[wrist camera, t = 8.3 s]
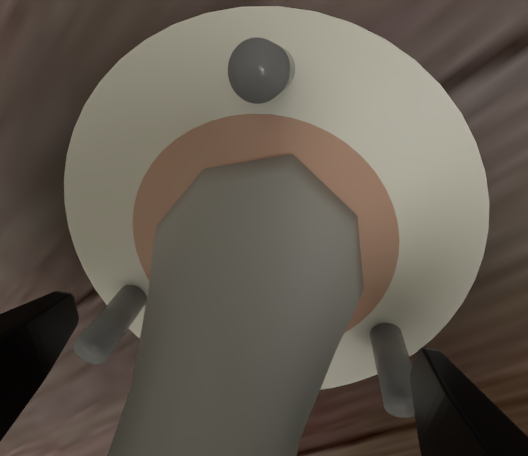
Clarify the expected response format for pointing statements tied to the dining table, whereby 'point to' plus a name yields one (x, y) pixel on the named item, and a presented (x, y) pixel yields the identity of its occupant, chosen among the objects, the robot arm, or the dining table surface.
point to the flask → (241, 313)
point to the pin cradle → (278, 144)
